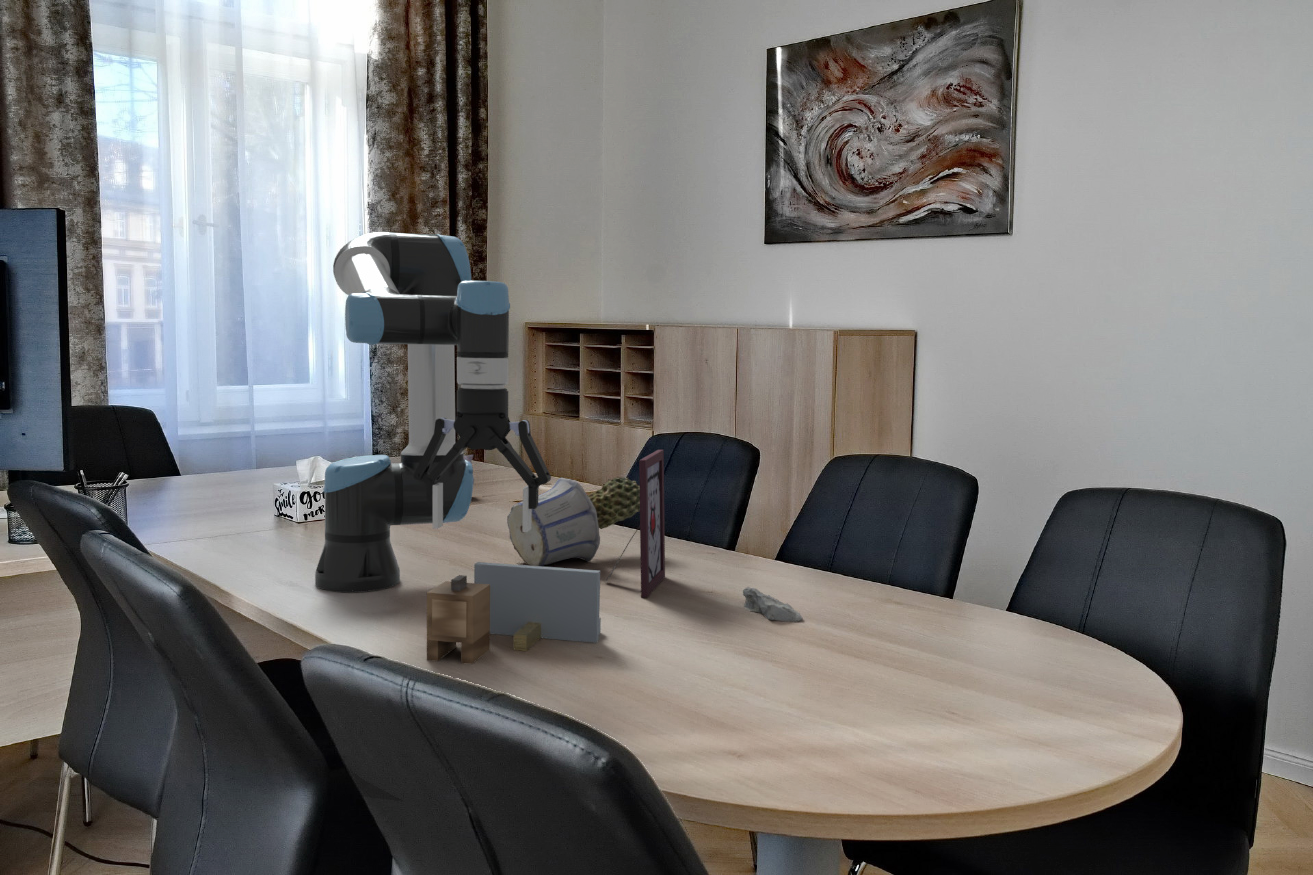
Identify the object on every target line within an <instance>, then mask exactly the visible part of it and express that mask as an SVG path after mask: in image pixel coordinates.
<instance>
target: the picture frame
mask: <svg viewBox="0 0 1313 875" xmlns="http://www.w3.org/2000/svg"><path fill="white" fill-rule="evenodd" d="M664 454H665V452H664V449H657V450H654V452H652V453H650V454H648V455H646V456H645V457H642V458H641V459H639V460H638V465H639V466H638V470H639V474H638V475H639V479H638V480H639V486H640V510H639V526H638V528H637V529H636V531H635V532H634V533H633V535H632V536H631V537H630V539H629V541H628V543H627V544H626V546H625V548H624V550H623V551H622V552H621V554H620V556H619V558H618V560H616V561H617V562H616V563H615V565H614V567H613V568H612V570H611V572H609V573H610V574H609V575H608V577H607V578H606V580H605V582H607V581H608V580H609V578H610V577H611V575H612V573H613V571H614V569H616V566H617V565H618V563H619V561H620V560H621V558H622V556H623V555H624V553H625V551H626V550H627V548H628V546H629V544H630V543H631V541H632V540H633V538H634V536H635V534H636V533H637V531H638V530H639V531H640V532H639V533H640V534H639V535H640V536H639V540H640V542H639V543H640V546H639V547H640V598H643V599H648V597H650V595H651V594H652V593H653V592H654V591H655V589H656V588H657V587H658V586H659V584H660V583H661V582H662V581H663V580H664V579H665V578H666V555H665V554H666V549H665V546H666V544H665V543H666V540H665V539H666V538H665V533H666V532H665V531H666V530H665V457H664Z"/></svg>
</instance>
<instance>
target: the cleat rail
mask: <svg viewBox="0 0 1313 875" xmlns="http://www.w3.org/2000/svg"><path fill="white" fill-rule="evenodd" d="M540 639H542V638H541V623H535V622H528V623H527V624H526V625H524V626H523V627H522V628H521V629H520V630H518V631H517V632H516V633H515V634H514V636H513V651H519V652H527V651H528V650H530V648H532V646H534V645H535V644H536V643H537V642H538V641H539V640H540Z"/></svg>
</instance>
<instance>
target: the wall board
mask: <svg viewBox="0 0 1313 875" xmlns="http://www.w3.org/2000/svg"><path fill="white" fill-rule="evenodd" d="M473 567H474V568H473V569H474V571H473V573H474V574H473V579H474V580H473V583H476V584H489V585H490V635H491V634H492V635H499V636H500V635H501V636H512V637H514V634H515V633H516V632H517V631H518V630H520V629H521V628H522V627H523V626H524V625H526V624H527V623H528V622H535V623H541V638H540V639H547V640H561V641H562V640H563V641H572V642H584V643H593V644H594V643H595V644H596V643H598V642H599V640H600V634H601V627H602V626H601V624H602V623H601V620H602V618H601V617H600V612H601V611H600V607H601V606H600V605H601V604H600V603H601V601H600V600H601V599H600V598H601V595H600V594H601V570H595V569H594V570H593V569H581V568H579V569H578V568H569V567H567V568H566V567H565V568H564V567H555V566H554V567H553V566H530V565H527V564H513V563H512V564H511V563H499V562H498V563H497V562H485V561H483V562H482V561H477V562H475V563H474V565H473Z"/></svg>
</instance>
